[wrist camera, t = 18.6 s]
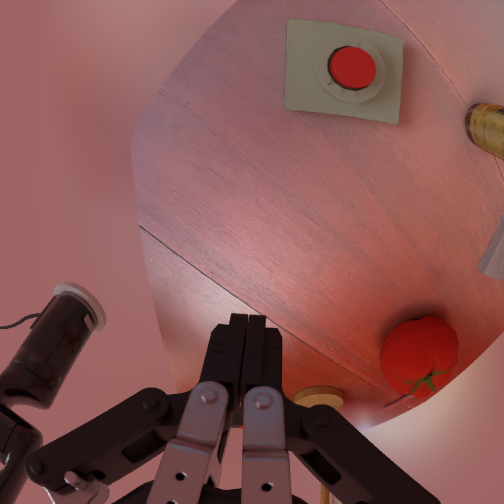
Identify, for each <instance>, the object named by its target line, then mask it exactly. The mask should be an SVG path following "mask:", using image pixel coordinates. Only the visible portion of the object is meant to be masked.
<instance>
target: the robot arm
mask: <svg viewBox="0 0 504 504" xmlns="http://www.w3.org/2000/svg"><path fill="white" fill-rule="evenodd" d="M33 317H37V319H36V320H35V321H34V323H33V324H32V325H31V327H30V331H31V332H30V334H29V335H28V336H27V338H26V339H25V341H24V342H23V344H22V345H21V347H20V348H19V350H18V351H17V352H16V354H15V355H14V357H13V359H12V360H11V362H10V363H9V365H8V366H7V367H6V369H5V370H4V371H3V372H2V373H1V374H0V462H1V463H2V464H3V465H5V466H4V467H3V468H2V470H1V471H0V504H14V503H15V501H16V499H17V497H18V496H19V494H20V492H21V490H22V488H23V486H24V484H25V483H26V481H27V479H28V478H29V479H30V480H32V481H33V482H35V483H37V484H38V485H40V486H42V487H43V488H44V489H45V490H46V491H47V493H48V495H49V497H50V498H51V500H52V502H53V504H103V503H105V502H106V501H107V499H108V497H109V488H108V485H110V484H112V483H114V482H115V481H117V480H119V479H120V478H122V477H124V476H126V475H127V474H129V473H131V472H132V471H134V470H135V469H137V468H139V467H140V466H142V465H143V464H145V463H147V462H148V461H149V460H151V459H153V458H154V457H156V456H157V455H159V454H160V453H162V452H163V451H164V454H163V456H162V459H161V462H160V465H159V468H158V471H157V473H156V476H155V479H154V480H152V481H150V482H147V483H144V484H142V485H141V486H139V487H137V488H136V489H134V490H133V491H131V492H130V493H128V494H127V495H125V496H123V497H122V498H120V499H119V500H117V501H116V502H114V503H112V504H308V503H307V502H305V501H304V500H302V499H301V498H299V497H296V496H295V495H292V494H291V476H290V460H289V453H288V451H291V452H293V453H294V455H295V456H296V457H297V458H298V459H299V460H300V461H301V462H302V463H303V465H304V466H305V467H306V468H307V469H308V470H309V471H310V472H311V473H312V474H313V475H314V476H315V477H316V478H317V479H318V480H319V481H320V482H321V483H322V484H323V485H324V486H325V487H326V488H327V489H328V490H329V491H330V492H331V493H332V494H333V495H334V496H335V497H336V498H337V499H338V500H339V501H340V502H341V503H342V504H441V503H440V501H439V500H438V499H437V498H436V497H435V496H433V495H432V494H431V493H430V492H428V491H427V490H426V489H424V488H423V487H422V486H421V485H420V484H419V483H417V482H416V481H415V480H414V479H413V478H411V477H410V476H409V475H408V474H407V473H405V472H404V471H403V470H402V469H401V468H400V467H398V466H397V465H396V464H395V463H394V462H393V461H391V460H390V459H389V458H388V457H387V456H386V455H385V454H383V453H382V452H381V451H380V450H379V449H378V448H377V447H375V446H374V445H373V444H372V443H371V442H370V441H369V440H368V439H367V438H366V437H364V436H363V435H362V434H361V433H360V432H359V431H358V430H357V429H356V428H355V427H354V426H353V425H351V424H350V423H349V422H348V421H347V420H346V419H345V418H344V417H343V416H342V415H341V414H340V413H339V412H338V411H337V410H336V409H334V408H333V407H331V406H329V405H325V404H318V405H314V406H311V407H310V408H308V407H305V406H302V405H298V404H296V403H293V402H292V401H290V400H289V399H288V398H287V397H286V396H285V395H284V393H283V390H282V336H281V334H280V332H279V330H278V328H266V327H265V326H266V315H251V314H250V315H249V322H248V314H237V313H231V317H230V322H229V325H226V324H218V325H217V326H216V327H215V328H214V330H213V331H212V332H211V336H210V340H209V344H208V348H207V352H206V356H205V360H204V364H203V368H202V372H201V376H200V380H199V382H198V384H197V385H196V386H195V387H194V388H193V389H191V390H190V391H188V392H185V393H179V394H171V395H166V393H165V392H163V391H162V390H160V389H158V388H145V389H143V390H141V391H139V392H138V393H136V394H134V395H133V396H131V397H129V398H128V399H126V400H124V401H123V402H121V403H119V404H118V405H116V406H114V407H113V408H111V409H109V410H108V411H106V412H104V413H103V414H101V415H99V416H97V417H96V418H94V419H92V420H91V421H89V422H87V423H85V424H83V425H82V426H80V427H78V428H76V429H75V430H73V431H71V432H69V433H68V434H65V435H64V436H62V437H60V438H58V439H56V440H54V441H53V442H50V443H49V444H47V445H45V446H43V436H42V434H41V432H40V431H39V430H38V429H37V428H35V427H34V426H33V425H32V424H30V423H29V422H27V421H26V420H24V419H23V418H22V417H21V416H19V415H18V414H16V413H15V412H14V411H12V410H11V407H12V406H14V405H29V406H32V407H35V408H39V409H43V410H46V409H49V408H50V407H51V405H52V404H53V402H54V400H55V398H56V396H57V394H58V392H59V390H60V388H61V386H62V384H63V382H64V380H65V379H66V377H67V375H68V373H69V371H70V369H71V368H72V366H73V364H74V362H75V361H76V359H77V357H78V355H79V354H80V352H81V350H82V348H83V347H84V345H85V343H86V342H87V340H88V338H89V337H90V335H91V334H92V332H93V330H94V329H95V328H96V326H97V324H98V319H97V316H96V313H95V312H94V310H93V308H92V307H91V306H90V305H89V304H88V303H87V302H86V301H85V300H84V299H83V298H82V297H80V296H79V295H77V294H75V293H73V292H70V291H62V292H61V293H60V294H59V295H55V296H54V297H53V298H52V300H51V301H50V302H49V303H48V305H47V306H46V307H45V309H44V310H43V311H42V312H41V313H37V314H31V315H28V316H25V317H24V318H22V319H21V320H20V321H18V322H16V323H14V324H12V325H9V326H3V327H0V329H8V328H12V327H15V326H17V325H19V324H21V323H22V322H24V321H25V320H27V319H30V318H33ZM240 402H241V413H244V414H243V450H242V452H243V453H242V488H240V489H231V490H222V489H219V488H218V486H219V482H220V477H221V468H222V463H223V459H224V455H225V450H226V446H227V442H228V438H229V434H230V430H231V425H232V420H233V412H239V409H240Z"/></svg>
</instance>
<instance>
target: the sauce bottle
mask: <svg viewBox="0 0 504 504" xmlns="http://www.w3.org/2000/svg"><path fill="white" fill-rule="evenodd" d="M466 128H467V133H468V136H469V138H470V139H471V141H472V142H473V143H474V144H475V145H477V146H478V147H479V148H481V149H482V150H484V151H486V152H488V153H490V154H492V155H494V156H496V157H498V158H500V159H502V160H504V107H503V106H499V105H494V104H489V103H479V104H475V105H473V106H472V107H471V108H470V110H469V112H468V114H467V117H466Z"/></svg>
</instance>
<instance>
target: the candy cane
mask: <svg viewBox="0 0 504 504" xmlns="http://www.w3.org/2000/svg"><path fill="white" fill-rule="evenodd" d="M406 396H407V395H406ZM404 397H405V396H404ZM404 397H402V398H400V399H399V400H397V401H395V402H393V403H391V404H389V405H387V406H385V407H384V410H385V411H388V410H390V409H392V408H394V407H396V406H398V405H400V404H402V403H404V402H406V401H408V400H409V399H411V398H413V397H415V396H412V395H409V396H407V397H405V398H404Z"/></svg>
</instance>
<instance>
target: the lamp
mask: <svg viewBox="0 0 504 504" xmlns="http://www.w3.org/2000/svg"><path fill="white" fill-rule="evenodd" d="M293 403H296V404H298V405H302V406H305V407H308V408H310V407H311V406H314V405H318V404H325V405H329V406H331V407H333V408H334V409H336V410H337V411H338V410H339V409H341V408H342V406H343V404H344V400H343V393H342V392H341V391H340V390H339V389H337V388H334V387H329V386H317V387H311V388H307V389H304V390H302V391H300V392H298V393H297V394H296V395H295V396H294V397H293ZM320 504H329V490H328V489H327V488H326V487H325V486H324V485H323V484H322V483H321V502H320ZM332 504H342V503H341V502H340V501H339V500H338V499H337V498H336V497H335V496H334V495H333V494H332Z"/></svg>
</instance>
